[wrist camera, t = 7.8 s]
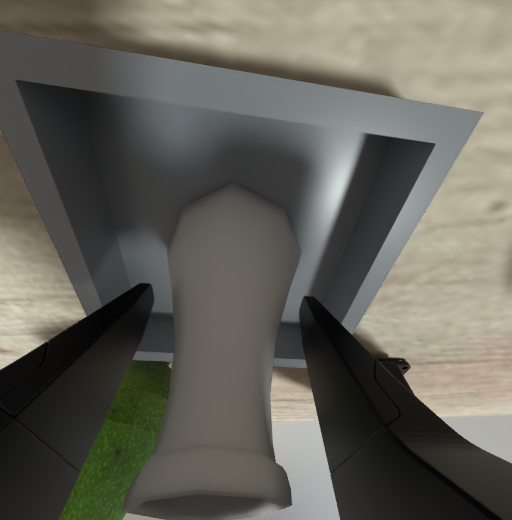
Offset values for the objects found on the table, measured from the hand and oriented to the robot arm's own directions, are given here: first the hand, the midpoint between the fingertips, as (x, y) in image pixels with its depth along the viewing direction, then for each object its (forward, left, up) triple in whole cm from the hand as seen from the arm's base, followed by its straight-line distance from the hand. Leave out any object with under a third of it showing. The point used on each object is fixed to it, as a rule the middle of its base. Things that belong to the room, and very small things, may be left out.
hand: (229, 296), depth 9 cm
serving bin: (0, 0, -5) cm, 5 cm away
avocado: (-13, +8, -5) cm, 16 cm away
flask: (0, 0, -4) cm, 4 cm away
